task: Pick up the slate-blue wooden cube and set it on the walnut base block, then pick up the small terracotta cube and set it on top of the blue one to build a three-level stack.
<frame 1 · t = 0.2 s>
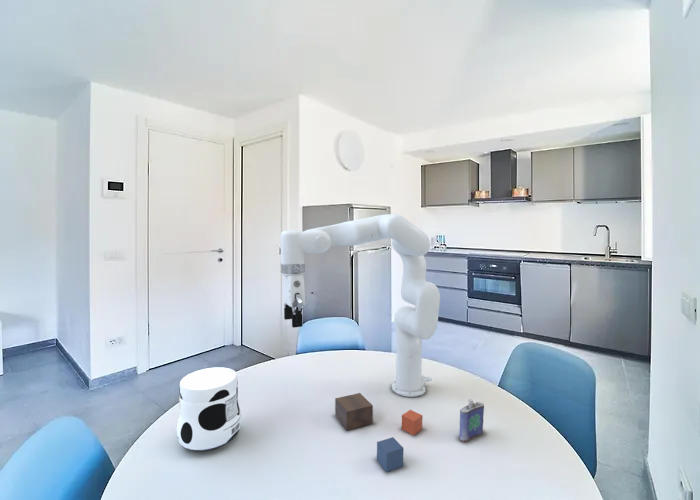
hand: (293, 322, 108), 31 cm above the table, tool pointing down, fingers open, 9 cm apart
walnut base: (353, 419, 108), on the table
milk container: (210, 438, 99), on the table
terracotta cube: (411, 429, 103), on the table
flask: (470, 436, 100), on the table
blue cube: (389, 463, 88), on the table
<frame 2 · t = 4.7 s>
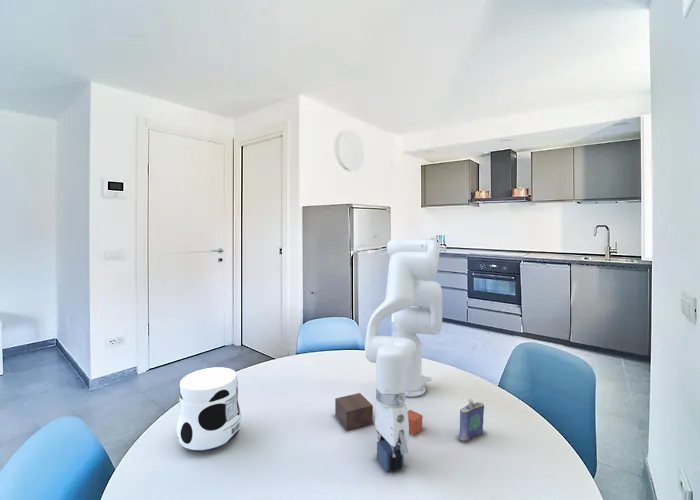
hand: (389, 461, 88), 0 cm above the table, tool pointing down, fingers closed on blue cube, 5 cm apart
blue cube: (389, 463, 88), on the table, touching gripper
everything else where it was.
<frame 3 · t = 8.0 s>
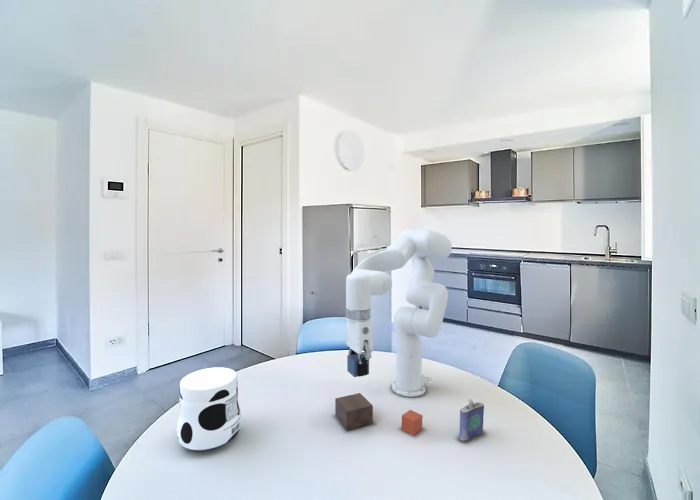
hand: (358, 371, 105), 17 cm above the table, tool pointing down, fingers closed on blue cube, 5 cm apart
blue cube: (358, 372, 105), point 17 cm above the table, touching gripper
everything else where it was.
when the fingers open (6 cm above the table, at t = 11.2 s): blue cube stays where it is, resting on walnut base.
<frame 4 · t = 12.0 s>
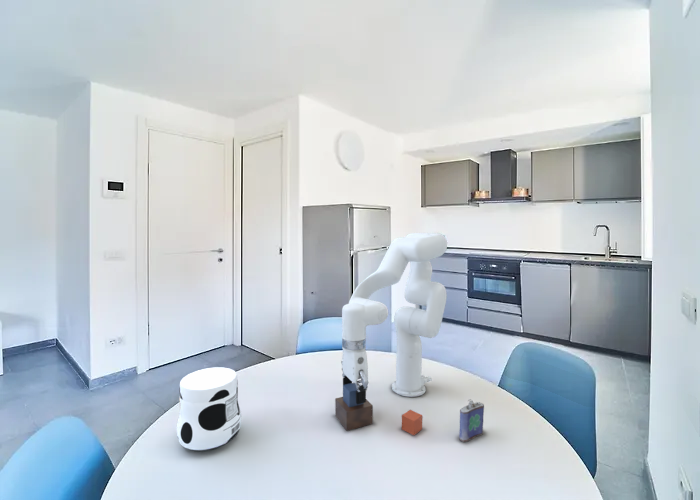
hand: (353, 395, 108), 8 cm above the table, tool pointing down, fingers open, 9 cm apart
walnut base: (353, 419, 108), on the table, touching blue cube
blue cube: (353, 402, 108), point 6 cm above the table, touching walnut base
everything else where it was.
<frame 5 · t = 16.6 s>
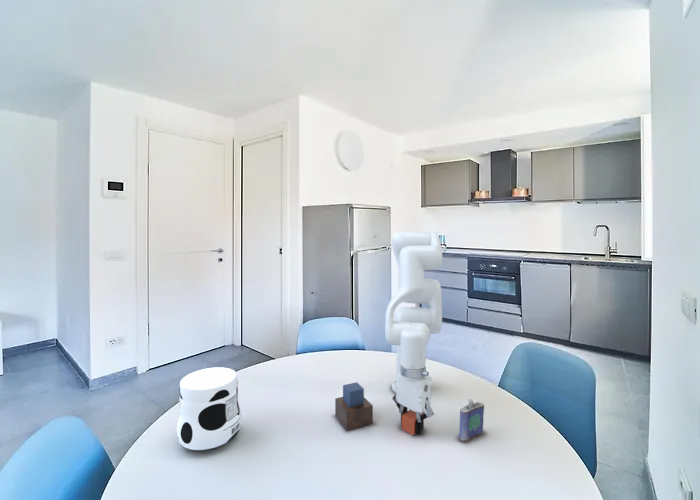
hand: (411, 428, 103), 0 cm above the table, tool pointing down, fingers closed on terracotta cube, 4 cm apart
terracotta cube: (411, 429, 103), on the table, touching gripper
everything else where it was.
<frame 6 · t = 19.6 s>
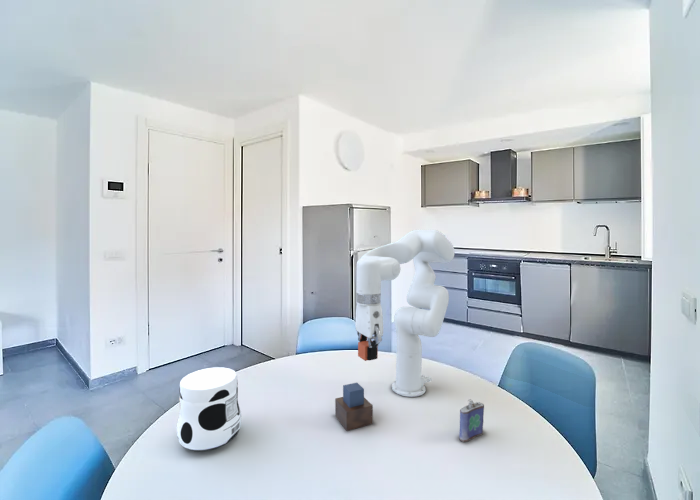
hand: (367, 356, 106), 21 cm above the table, tool pointing down, fingers closed on terracotta cube, 4 cm apart
terracotta cube: (367, 357, 106), point 21 cm above the table, touching gripper
everything else where it was.
when the fingers open (11 cm above the table, at t = 22.7 s): terracotta cube stays where it is, resting on blue cube.
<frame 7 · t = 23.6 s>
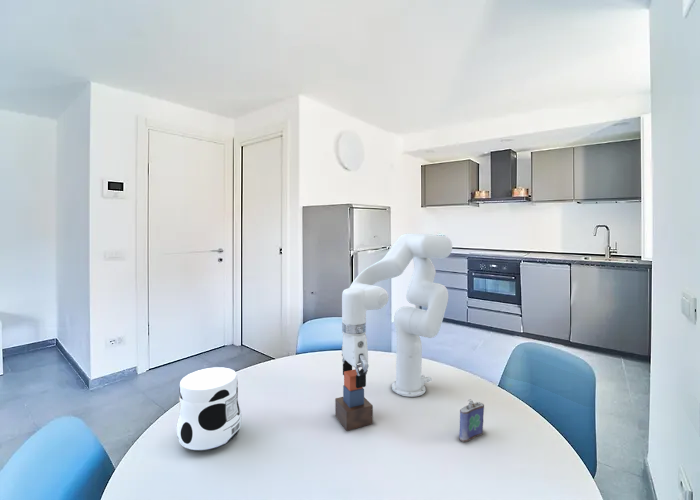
hand: (353, 380, 108), 13 cm above the table, tool pointing down, fingers open, 9 cm apart
terracotta cube: (353, 386, 108), point 11 cm above the table, touching blue cube
blue cube: (353, 402, 108), point 6 cm above the table, touching terracotta cube, walnut base
everything else where it was.
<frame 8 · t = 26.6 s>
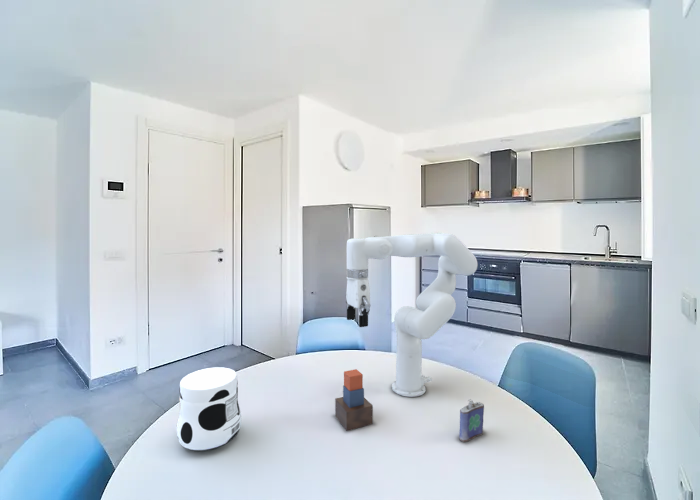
hand: (357, 322, 118), 28 cm above the table, tool pointing down, fingers open, 9 cm apart
nothing on the table moved.
at the end: blue cube 0.4 cm off-centre on the walnut base, point 6.0 cm above the walnut base's base; terracotta cube 0.2 cm off-centre on the walnut base, point 11.0 cm above the walnut base's base; terracotta cube tilted 0° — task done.
